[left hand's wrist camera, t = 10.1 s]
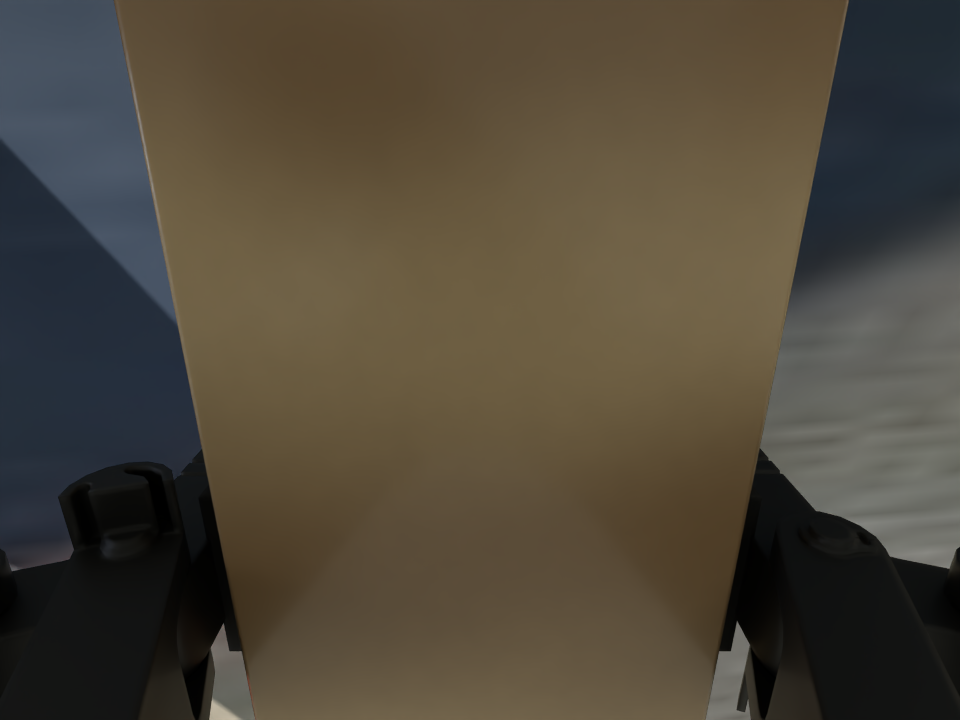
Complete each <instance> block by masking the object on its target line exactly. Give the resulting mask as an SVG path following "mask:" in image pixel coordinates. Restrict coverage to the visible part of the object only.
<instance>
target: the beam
mask: <svg viewBox="0 0 960 720" xmlns="http://www.w3.org/2000/svg"><path fill="white" fill-rule="evenodd" d="M848 3H849V0H114V4H115V9H116V14H117V19H118V24H119V29H120V34H121V39H122V44H123V49H124V55H125V60H126V65H127V70H128V75H129V80H130V85H131V90H132V95H133V100H134V105H135V110H136V116H137V121H138V126H139V131H140V136H141V141H142V146H143V151H144V156H145V161H146V166H147V171H148V176H149V182H150V187H151V192H152V197H153V202H154V207H155V212H156V217H157V222H158V227H159V232H160V237H161V243H162V248H163V253H164V258H165V263H166V268H167V273H168V278H169V283H170V288H171V293H172V298H173V304H174V309H175V314H176V319H177V324H178V329H179V334H180V339H181V344H182V349H183V354H184V359H185V364H186V370H187V375H188V380H189V385H190V390H191V395H192V400H193V405H194V410H195V415H196V420H197V425H198V431H199V436H200V441H201V446H202V451H203V456H204V461H205V466H206V471H207V476H208V481H209V486H210V491H211V497H212V502H213V507H214V512H215V517H216V522H217V527H218V532H219V537H220V542H221V547H222V552H223V558H224V563H225V568H226V573H227V578H228V583H229V588H230V593H231V598H232V603H233V608H234V613H235V619H236V624H237V629H238V634H239V639H240V644H241V649H242V654H243V659H244V664H245V669H246V674H247V679H248V685H249V690H250V695H251V700H252V705H253V710H254V715H255V720H705V719H706V714H707V709H708V704H709V699H710V694H711V689H712V684H713V679H714V674H715V669H716V664H717V659H718V654H719V649H720V644H721V639H722V634H723V629H724V624H725V619H726V614H727V609H728V604H729V599H730V594H731V589H732V584H733V579H734V574H735V569H736V564H737V559H738V554H739V549H740V544H741V539H742V534H743V529H744V523H745V518H746V513H747V508H748V503H749V498H750V493H751V488H752V483H753V478H754V473H755V468H756V463H757V458H758V453H759V448H760V443H761V438H762V433H763V428H764V423H765V418H766V413H767V408H768V403H769V398H770V393H771V388H772V383H773V378H774V373H775V368H776V363H777V358H778V353H779V348H780V343H781V338H782V333H783V328H784V323H785V318H786V313H787V308H788V303H789V298H790V293H791V288H792V283H793V278H794V273H795V268H796V263H797V258H798V253H799V248H800V243H801V238H802V233H803V228H804V223H805V218H806V213H807V208H808V203H809V198H810V193H811V188H812V183H813V178H814V173H815V168H816V163H817V158H818V153H819V148H820V143H821V138H822V133H823V128H824V123H825V118H826V113H827V108H828V103H829V98H830V93H831V88H832V83H833V78H834V73H835V68H836V63H837V58H838V53H839V48H840V43H841V38H842V33H843V28H844V23H845V18H846V13H847V8H848Z"/></svg>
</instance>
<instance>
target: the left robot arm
mask: <svg viewBox="0 0 960 720" xmlns="http://www.w3.org/2000/svg"><path fill="white" fill-rule="evenodd" d="M58 498H59V502H60V505H61V508H62V511H63V515H64V518H65V521H66V525H67V528H68V531H69V534H70V538H71V541H72V544H73V547H74V552H73V554H72V556H71V558H70V559H69V560H65V561H62V562H57V563H51V564H46V565H41V566H36V567H31V568H26V569H21V570H16V571H11V568H10V565H9V562H8V559H7V557H6V554H5V552H4V551H3V550H1V549H0V720H209V717H210V709H211V701H212V693H213V685H214V676H215V669H214V662H213V657H212V652H211V646H212V644H213V642H214V640H215V638H216V636H217V634H218V632H219V631H220V629H221V627H222V625H223V623H224V626H225V631H226V636H227V641H228V646H229V651H242V649H241V644H240V639H239V634H238V629H237V624H236V619H235V613H234V608H233V603H232V598H231V593H230V588H229V583H228V578H227V573H226V568H225V563H224V558H223V552H222V547H221V542H220V537H219V532H218V527H217V522H216V517H215V512H214V507H213V502H212V497H211V491H210V486H209V481H208V476H207V471H206V466H205V461H204V456H203V451H202V450H201V451H200V452H199V453H198V454H197V455H196V456H195V457H194V459H193V460H192V463H189V464H188V465H187V466H186V468H185V469H184V470H183V471H182V472H181V476H178V477H177V478H176V479H175V480H174V479H173V474H172V470H170V469H169V468H167V467H166V466H165V465H163V464H158V463H153V462H133V463H125V464H120V465H116V466H111V467H107V468H104V469H102V470H99V471H96V472H94V473H91V474H89V475H86V476H84V477H83V478H81V479H79V480H78V481H76V482H74V483H73V484H71V485H69V486H68V487H67V488H66V489H65V490H64V491H63V492H62V493H61V494H60V495H59V496H58ZM737 621H738V623H739V625H740V627H741V629H742V631H743V633H744V634H745V636H746V638H747V640H748V642H749V644H750V648H749V652H748V657H747V661H746V666H745V671H744V675H743V680H742V684H741V689H740V693H739V698H738V705H737V710H738V711H742V712H745V709H746V705H747V701H748V699H749V707H750V715H751V720H960V547H959V548H958V549H957V550H956V552H955V555H954V558H953V561H952V564H951V566H950V569H947V568H942V567H937V566H932V565H927V564H922V563H917V562H912V561H907V560H902V559H897V558H894V557H890V556H889V554H888V552H887V550H886V549H885V548H884V546H883V545H882V544H881V543H880V541H879V540H878V539H877V538H876V537H875V536H874V535H872V534H871V533H870V532H868V531H867V530H865V529H864V528H862V527H861V526H860V525H857V524H855V523H853V522H851V521H848V520H846V519H844V518H842V517H839V516H835V515H831V514H827V513H823V512H819V511H815V510H814V508H813V507H812V506H811V505H810V504H809V503H808V502H807V501H806V499H805V498H804V497H803V496H802V495H801V494H800V493H799V492H798V490H797V489H796V488H795V487H794V486H793V485H792V484H791V483H790V482H789V480H788V479H787V478H786V477H785V476H784V475H783V474H780V470H779V469H778V468H777V467H776V466H775V465H774V464H773V462H772V461H769V460H768V457H767V456H766V455H765V454H764V452H763V451H762V450H761V449H760V448H759V453H758V458H757V463H756V468H755V473H754V478H753V483H752V488H751V493H750V498H749V503H748V508H747V513H746V518H745V523H744V529H743V534H742V539H741V544H740V549H739V554H738V559H737V564H736V569H735V574H734V579H733V584H732V589H731V594H730V599H729V604H728V609H727V614H726V619H725V624H724V629H723V634H722V639H721V644H720V649H719V651H731V648H732V643H733V638H734V633H735V628H736V623H737Z"/></svg>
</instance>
